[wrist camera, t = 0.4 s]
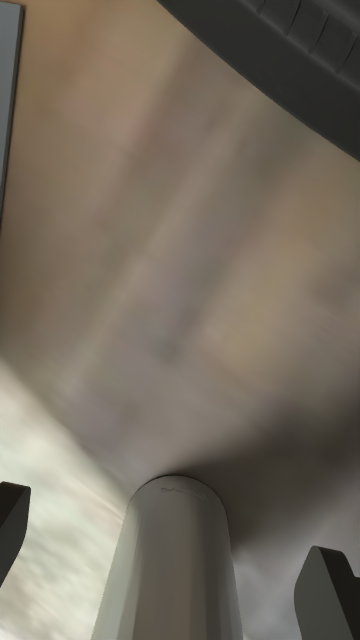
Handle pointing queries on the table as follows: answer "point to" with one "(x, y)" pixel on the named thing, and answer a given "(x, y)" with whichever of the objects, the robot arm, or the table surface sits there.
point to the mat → (8, 77)
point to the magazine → (290, 55)
